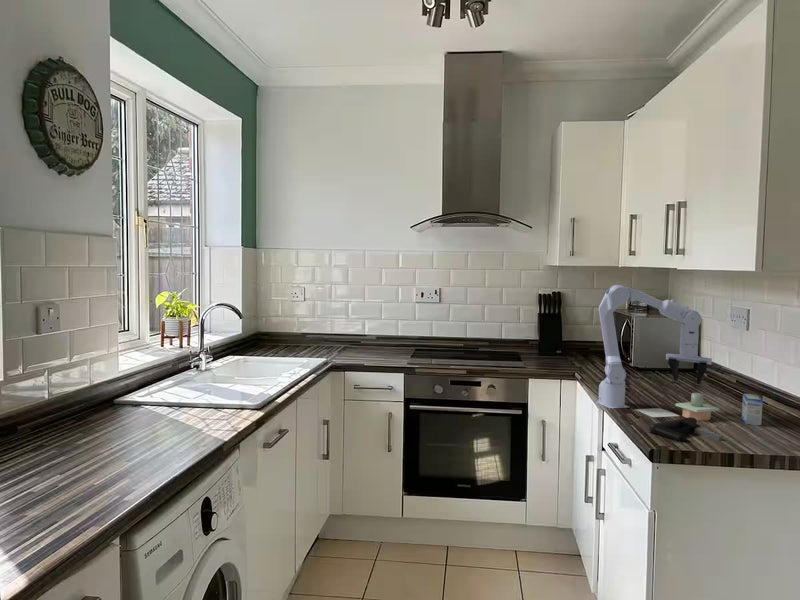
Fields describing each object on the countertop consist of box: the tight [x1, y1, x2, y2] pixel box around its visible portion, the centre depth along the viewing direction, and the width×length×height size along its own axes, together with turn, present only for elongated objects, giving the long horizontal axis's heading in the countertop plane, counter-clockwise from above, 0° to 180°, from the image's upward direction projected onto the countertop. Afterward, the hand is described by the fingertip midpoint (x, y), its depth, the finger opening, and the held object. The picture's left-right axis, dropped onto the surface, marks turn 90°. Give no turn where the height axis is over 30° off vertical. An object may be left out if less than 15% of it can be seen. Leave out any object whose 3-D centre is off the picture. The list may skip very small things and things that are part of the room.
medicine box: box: [741, 393, 763, 426], centre depth 189 cm, size 8×4×9 cm, turn 159°
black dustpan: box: [648, 417, 723, 443], centre depth 174 cm, size 3×20×16 cm
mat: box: [634, 407, 680, 418], centre depth 198 cm, size 10×10×1 cm
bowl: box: [681, 408, 712, 421], centre depth 193 cm, size 8×8×4 cm
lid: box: [675, 392, 720, 412], centre depth 192 cm, size 9×9×5 cm
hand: (687, 382), depth 202 cm, fingers open, 7 cm apart
